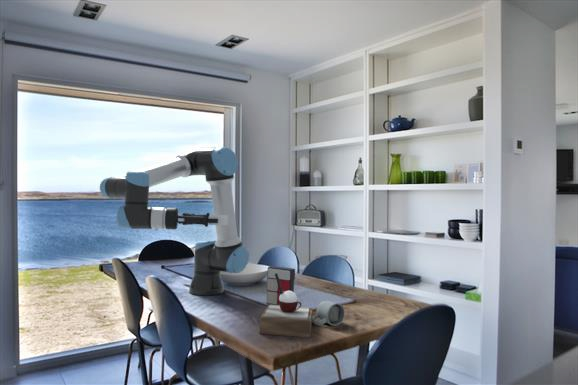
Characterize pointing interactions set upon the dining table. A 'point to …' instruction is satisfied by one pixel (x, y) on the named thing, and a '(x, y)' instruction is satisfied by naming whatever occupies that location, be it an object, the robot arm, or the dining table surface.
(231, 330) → the dining table surface
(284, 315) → the walnut stand
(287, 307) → the cocoa
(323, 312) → the ceramic mug
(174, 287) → the dining table surface
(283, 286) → the calculator
